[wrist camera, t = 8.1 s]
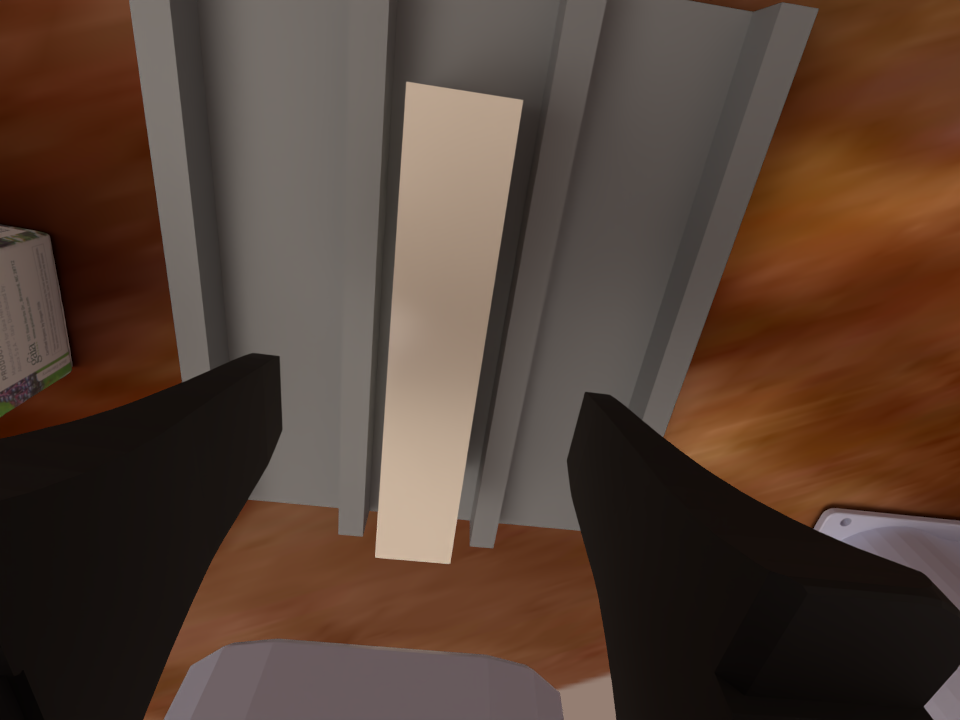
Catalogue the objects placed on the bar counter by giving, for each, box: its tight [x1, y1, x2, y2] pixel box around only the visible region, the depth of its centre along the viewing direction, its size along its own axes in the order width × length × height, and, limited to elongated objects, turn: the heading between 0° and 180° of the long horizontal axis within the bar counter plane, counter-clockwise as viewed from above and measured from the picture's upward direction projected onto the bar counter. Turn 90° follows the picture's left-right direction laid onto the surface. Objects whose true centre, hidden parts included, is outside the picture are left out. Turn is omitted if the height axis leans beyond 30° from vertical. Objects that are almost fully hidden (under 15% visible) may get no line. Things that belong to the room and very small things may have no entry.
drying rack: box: [129, 0, 819, 548], centre depth 18 cm, size 18×20×3 cm
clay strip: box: [375, 82, 523, 564], centre depth 16 cm, size 14×2×5 cm, turn 172°
